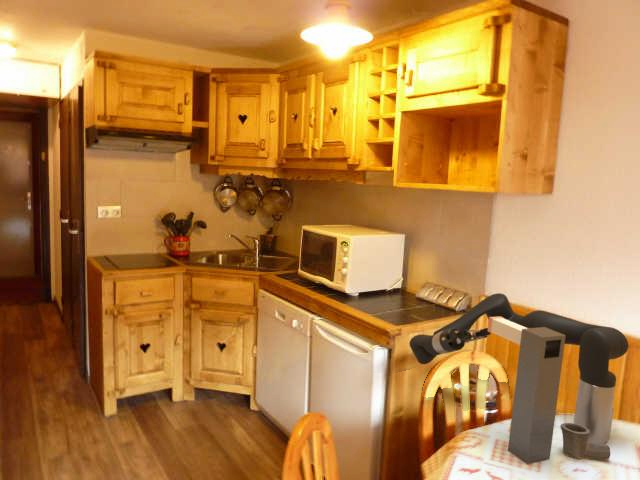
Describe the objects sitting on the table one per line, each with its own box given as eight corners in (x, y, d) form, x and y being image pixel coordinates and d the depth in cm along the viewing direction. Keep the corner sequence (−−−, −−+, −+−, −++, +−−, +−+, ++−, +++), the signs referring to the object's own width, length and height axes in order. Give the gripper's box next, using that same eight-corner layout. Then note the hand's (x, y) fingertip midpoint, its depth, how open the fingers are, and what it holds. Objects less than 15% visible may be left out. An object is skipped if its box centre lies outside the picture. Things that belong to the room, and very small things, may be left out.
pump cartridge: (499, 330, 149) (500, 316, 149) (537, 347, 136) (539, 332, 135) (487, 331, 148) (489, 317, 147) (525, 348, 134) (527, 333, 133)
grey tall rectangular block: (529, 445, 140) (544, 327, 136) (549, 459, 134) (565, 335, 129) (507, 450, 137) (522, 328, 133) (527, 464, 131) (542, 337, 126)
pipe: (611, 466, 133) (615, 438, 132) (560, 458, 135) (563, 430, 134) (603, 454, 139) (607, 427, 138) (554, 446, 141) (557, 419, 140)
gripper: (428, 331, 167) (457, 321, 153) (462, 328, 172) (493, 318, 158) (432, 354, 165) (462, 345, 151) (467, 350, 170) (499, 342, 156)
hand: (478, 331), depth 154 cm, fingers open, 8 cm apart
